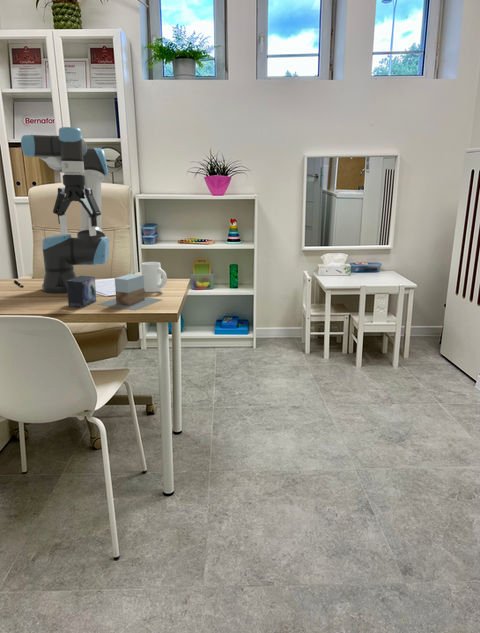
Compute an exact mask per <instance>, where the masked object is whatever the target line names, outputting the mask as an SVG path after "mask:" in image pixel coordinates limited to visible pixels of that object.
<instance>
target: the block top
mask: <svg viewBox="0 0 480 633" xmlns="http://www.w3.org/2000/svg"><path fill="white" fill-rule="evenodd" d="M114 287H115V289H114V291H115V292H116V291H118V292H125V293H130V292H133V291H136V290H139V289H142V288H144V275H142V274H137V273H129V274H126V275H122V276H121V275H120V276H117V277H114Z"/></svg>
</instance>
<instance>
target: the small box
mask: <svg viewBox="0 0 480 633" xmlns="http://www.w3.org/2000/svg"><path fill="white" fill-rule="evenodd" d="M96 288H97V287H96V278H95V276H89V275H79V276H76V278H73V279H70V280H67V291H68V292H67V301H68V302H67V304H68V307H67V308H76V309H83V308H86V307H88V306H90V305H92V304H95V303H96V302H97V293H96V292H97V291H96Z"/></svg>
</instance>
